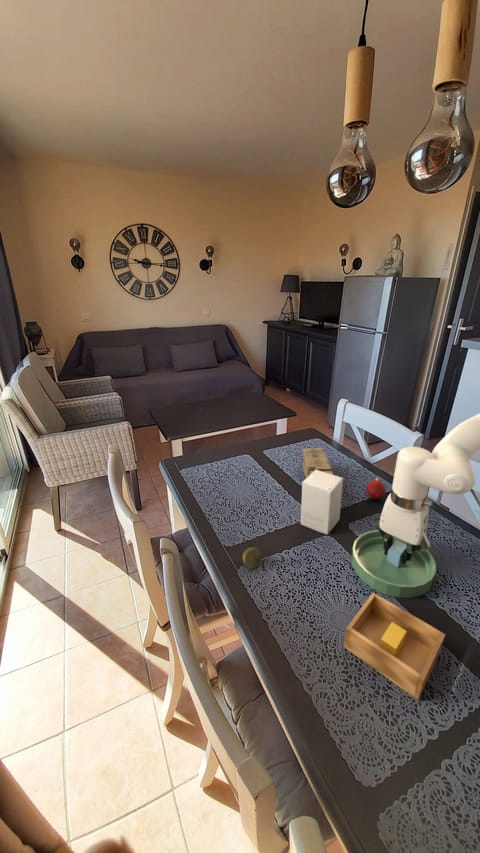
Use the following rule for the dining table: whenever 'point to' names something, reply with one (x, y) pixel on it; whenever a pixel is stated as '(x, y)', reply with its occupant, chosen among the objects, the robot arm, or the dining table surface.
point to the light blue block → (396, 553)
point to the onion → (375, 489)
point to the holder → (414, 655)
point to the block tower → (315, 461)
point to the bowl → (392, 568)
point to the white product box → (321, 501)
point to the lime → (251, 557)
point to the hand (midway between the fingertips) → (396, 555)
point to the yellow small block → (393, 639)
